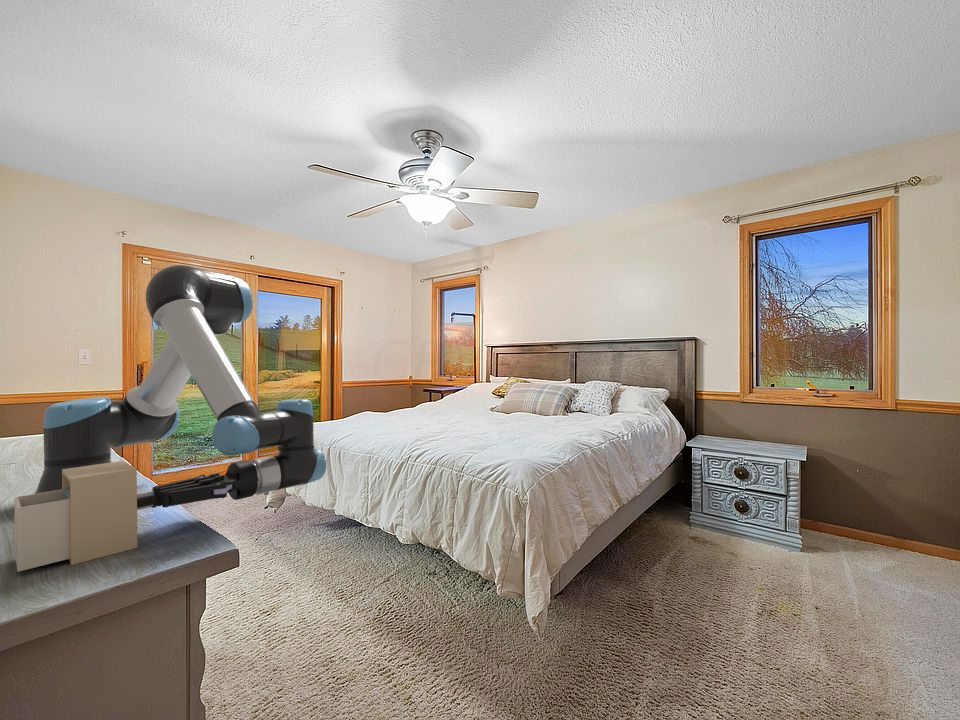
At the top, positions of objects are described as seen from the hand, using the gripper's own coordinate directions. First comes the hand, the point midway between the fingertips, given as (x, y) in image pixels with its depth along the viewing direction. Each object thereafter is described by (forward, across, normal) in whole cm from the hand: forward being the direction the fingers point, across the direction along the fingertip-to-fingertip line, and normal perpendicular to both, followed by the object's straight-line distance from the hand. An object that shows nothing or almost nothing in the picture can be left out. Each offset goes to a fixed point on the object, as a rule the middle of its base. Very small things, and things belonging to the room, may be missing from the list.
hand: (105, 507), depth 73 cm
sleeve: (+1, 0, -6) cm, 6 cm away
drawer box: (+5, 0, -6) cm, 8 cm away
